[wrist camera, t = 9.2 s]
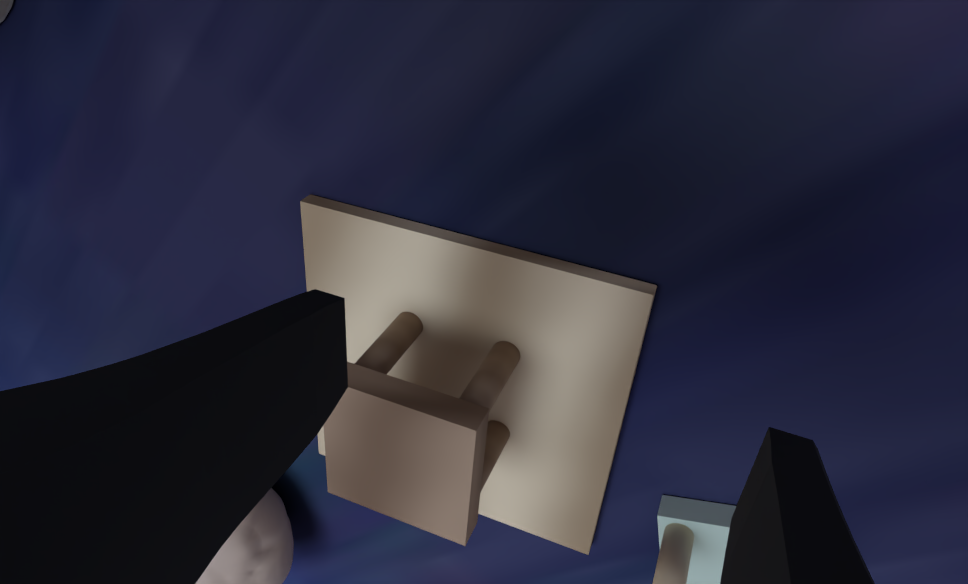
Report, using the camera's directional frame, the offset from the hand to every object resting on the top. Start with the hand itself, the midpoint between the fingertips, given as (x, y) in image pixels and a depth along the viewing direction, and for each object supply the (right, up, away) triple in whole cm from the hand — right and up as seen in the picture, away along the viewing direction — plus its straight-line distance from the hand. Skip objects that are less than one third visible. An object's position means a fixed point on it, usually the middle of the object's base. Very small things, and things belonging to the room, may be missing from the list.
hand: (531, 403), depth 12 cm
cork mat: (-2, -1, +14) cm, 14 cm away
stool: (-2, -1, +13) cm, 14 cm away
